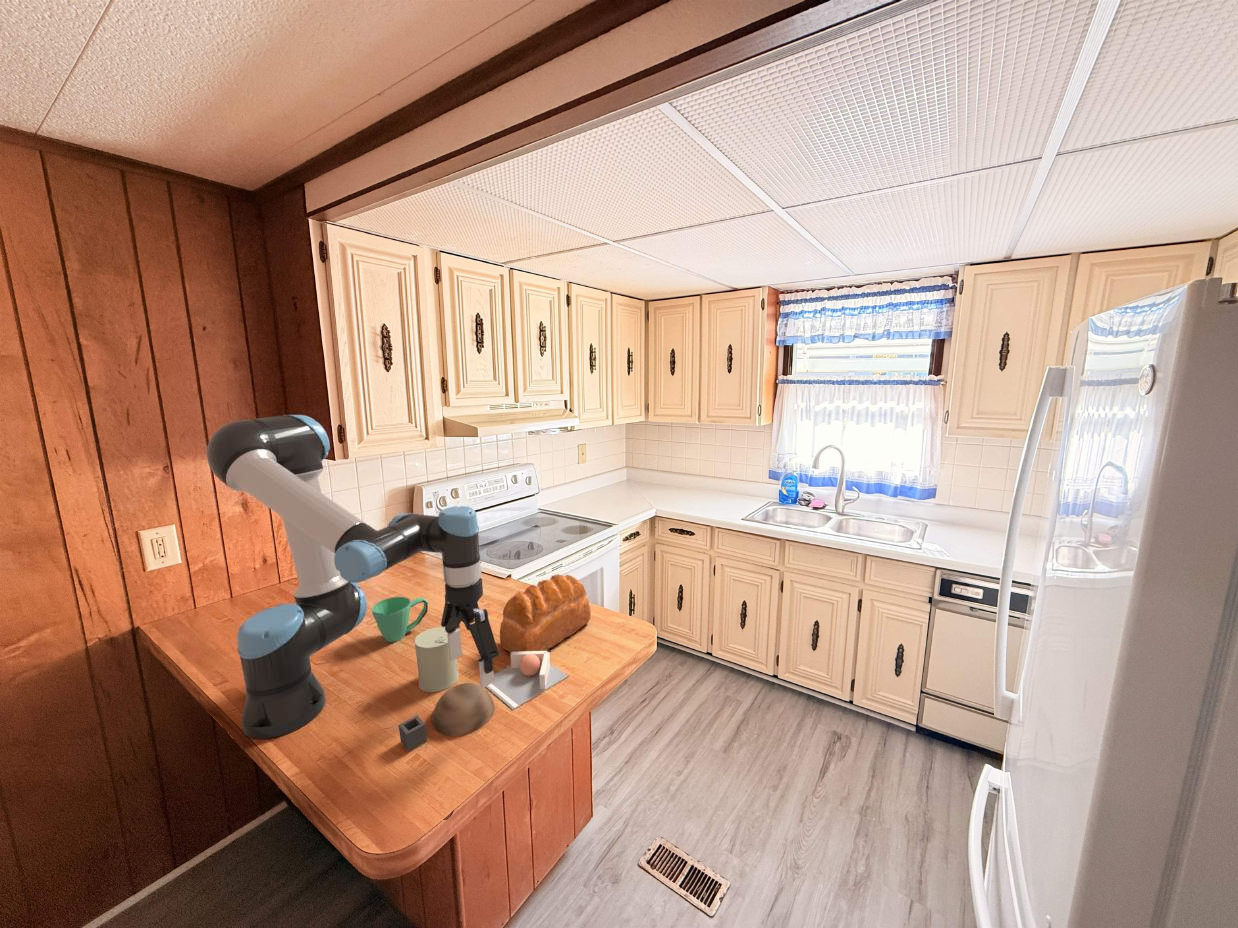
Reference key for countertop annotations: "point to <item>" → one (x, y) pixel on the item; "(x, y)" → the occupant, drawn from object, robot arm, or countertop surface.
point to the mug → (396, 616)
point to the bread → (544, 614)
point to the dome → (462, 710)
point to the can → (435, 661)
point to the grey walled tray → (524, 680)
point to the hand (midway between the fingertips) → (471, 670)
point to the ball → (529, 664)
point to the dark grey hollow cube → (413, 733)
